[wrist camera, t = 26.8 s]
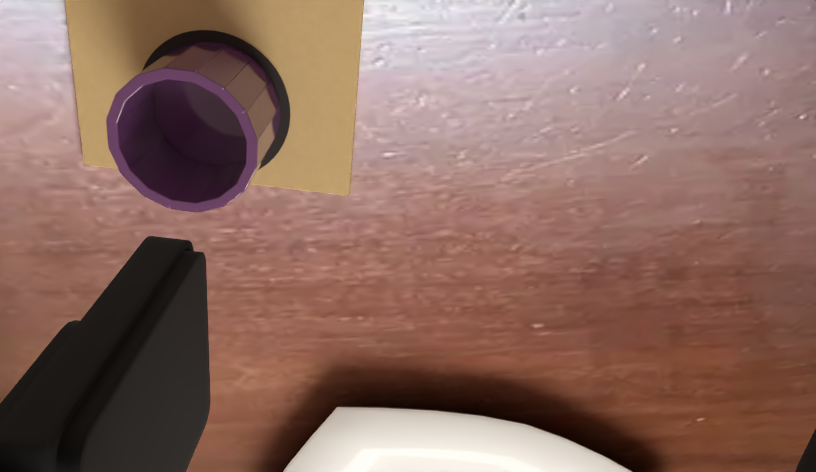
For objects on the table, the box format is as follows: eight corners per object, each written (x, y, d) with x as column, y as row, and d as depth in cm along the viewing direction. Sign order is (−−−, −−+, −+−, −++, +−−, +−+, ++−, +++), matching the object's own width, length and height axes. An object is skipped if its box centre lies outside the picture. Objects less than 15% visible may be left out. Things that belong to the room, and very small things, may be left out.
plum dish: (145, 32, 34) (100, 58, 30) (283, 50, 34) (258, 80, 30) (151, 160, 37) (112, 201, 33) (278, 177, 38) (255, 220, 33)
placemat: (41, -242, 30) (34, -244, 29) (378, -202, 30) (377, -203, 29) (86, 162, 38) (82, 165, 38) (350, 192, 38) (348, 197, 38)
